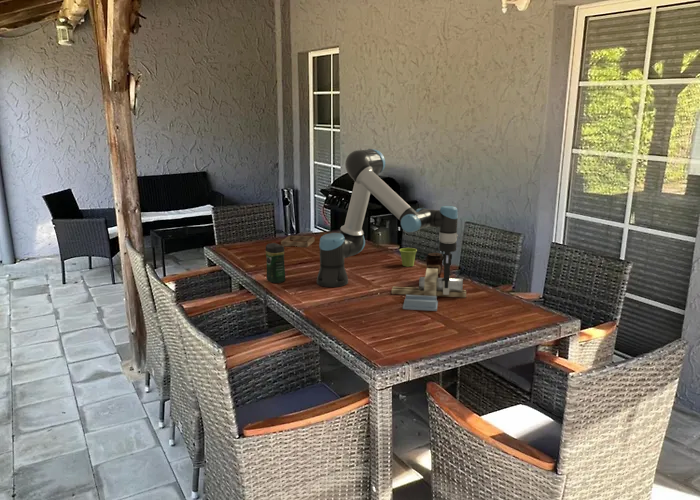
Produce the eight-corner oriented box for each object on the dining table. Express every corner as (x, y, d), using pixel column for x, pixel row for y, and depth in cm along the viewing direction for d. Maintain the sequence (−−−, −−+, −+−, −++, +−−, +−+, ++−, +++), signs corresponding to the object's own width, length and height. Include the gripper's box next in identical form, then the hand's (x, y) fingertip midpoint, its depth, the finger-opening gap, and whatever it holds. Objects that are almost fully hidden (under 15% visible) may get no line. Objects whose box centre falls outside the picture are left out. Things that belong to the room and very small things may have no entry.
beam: (389, 298, 246) (389, 277, 244) (394, 286, 263) (394, 266, 261) (466, 302, 240) (467, 281, 238) (465, 289, 257) (466, 269, 255)
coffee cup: (442, 282, 268) (443, 256, 265) (424, 281, 270) (425, 255, 267) (443, 277, 277) (443, 252, 274) (426, 277, 278) (426, 251, 275)
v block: (402, 309, 232) (402, 301, 232) (404, 301, 242) (405, 293, 241) (436, 310, 230) (437, 302, 229) (437, 303, 239) (437, 295, 239)
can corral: (281, 246, 347) (280, 241, 346) (289, 240, 363) (288, 235, 362) (307, 247, 344) (307, 242, 343) (314, 241, 360) (314, 236, 359)
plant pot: (396, 266, 297) (397, 251, 295) (402, 262, 306) (402, 247, 304) (414, 268, 294) (414, 252, 292) (418, 264, 303) (419, 248, 300)
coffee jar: (288, 281, 272) (286, 244, 268) (273, 284, 268) (271, 246, 264) (278, 277, 280) (277, 241, 276) (264, 279, 276) (262, 243, 271)
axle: (418, 291, 249) (419, 278, 248) (419, 288, 255) (420, 275, 254) (462, 293, 246) (462, 280, 244) (462, 290, 251) (462, 277, 250)
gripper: (456, 246, 235) (454, 299, 240) (456, 237, 253) (454, 286, 258) (438, 246, 236) (436, 298, 242) (440, 236, 254) (438, 285, 260)
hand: (446, 292), depth 250 cm, fingers closed on axle, 6 cm apart
